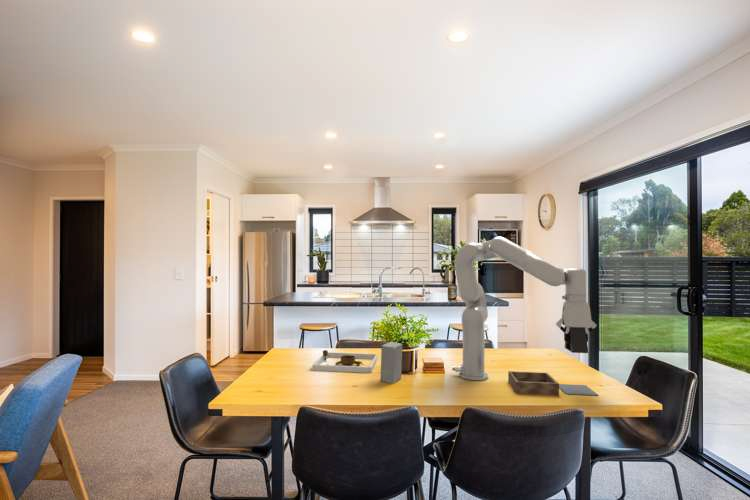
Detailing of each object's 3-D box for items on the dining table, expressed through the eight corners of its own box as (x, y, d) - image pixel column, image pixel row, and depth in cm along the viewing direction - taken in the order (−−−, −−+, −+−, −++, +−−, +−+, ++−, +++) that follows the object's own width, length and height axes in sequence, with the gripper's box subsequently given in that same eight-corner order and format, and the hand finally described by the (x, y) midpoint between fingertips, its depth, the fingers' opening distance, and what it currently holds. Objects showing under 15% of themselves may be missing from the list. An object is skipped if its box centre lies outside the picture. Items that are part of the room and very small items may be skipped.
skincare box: (388, 376, 177) (389, 341, 177) (403, 379, 173) (403, 342, 174) (379, 381, 170) (379, 344, 170) (394, 384, 166) (394, 346, 166)
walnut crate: (516, 393, 156) (516, 381, 156) (508, 381, 171) (508, 371, 171) (559, 395, 154) (559, 383, 154) (547, 383, 169) (547, 372, 169)
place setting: (335, 372, 186) (335, 359, 186) (320, 362, 203) (320, 350, 204) (368, 367, 194) (368, 355, 194) (351, 358, 211) (351, 347, 212)
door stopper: (588, 353, 156) (588, 322, 156) (572, 352, 157) (572, 322, 157) (579, 348, 165) (579, 319, 165) (564, 347, 166) (564, 318, 166)
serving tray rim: (312, 370, 186) (312, 365, 186) (325, 356, 212) (325, 352, 212) (371, 372, 183) (371, 367, 183) (377, 358, 209) (377, 354, 209)
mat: (565, 394, 155) (565, 393, 155) (555, 384, 167) (555, 383, 167) (598, 396, 154) (598, 394, 154) (585, 386, 166) (585, 385, 166)
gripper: (556, 299, 159) (556, 344, 158) (602, 300, 157) (602, 346, 156) (550, 297, 166) (550, 340, 166) (594, 298, 164) (594, 342, 164)
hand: (576, 343), depth 161 cm, fingers closed on door stopper, 6 cm apart
